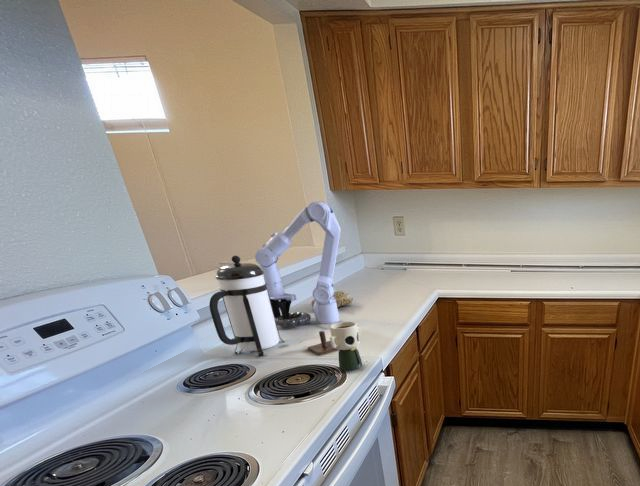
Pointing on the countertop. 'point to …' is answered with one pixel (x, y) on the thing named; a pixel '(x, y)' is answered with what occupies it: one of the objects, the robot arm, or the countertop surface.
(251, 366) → the countertop surface
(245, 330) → the coffee press
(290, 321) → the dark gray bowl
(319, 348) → the peg
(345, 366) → the character mug
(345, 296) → the sponge
